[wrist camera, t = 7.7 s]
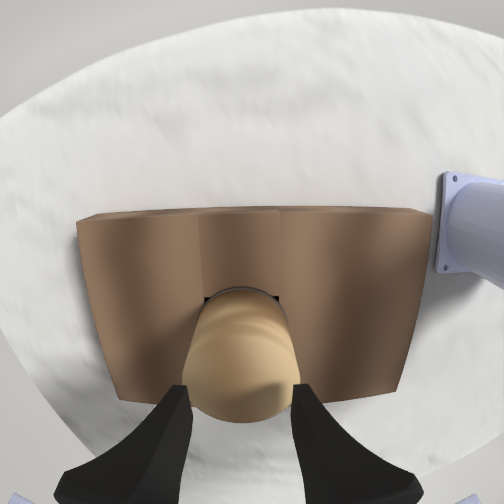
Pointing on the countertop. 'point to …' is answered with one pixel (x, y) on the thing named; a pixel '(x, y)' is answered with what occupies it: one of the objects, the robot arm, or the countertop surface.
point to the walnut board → (261, 277)
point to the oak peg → (241, 357)
